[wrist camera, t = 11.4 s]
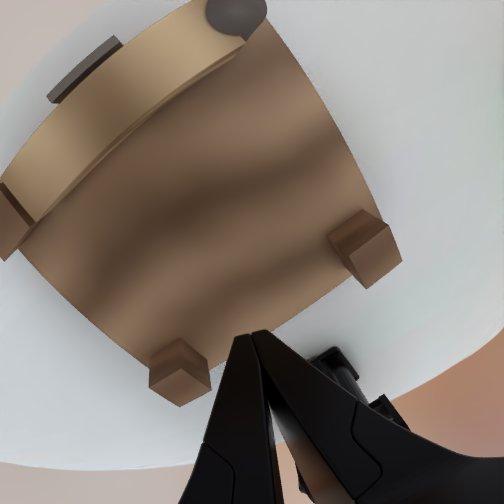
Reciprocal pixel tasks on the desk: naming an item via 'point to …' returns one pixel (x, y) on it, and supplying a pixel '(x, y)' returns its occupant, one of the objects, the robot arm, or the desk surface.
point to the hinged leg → (127, 96)
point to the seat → (208, 218)
